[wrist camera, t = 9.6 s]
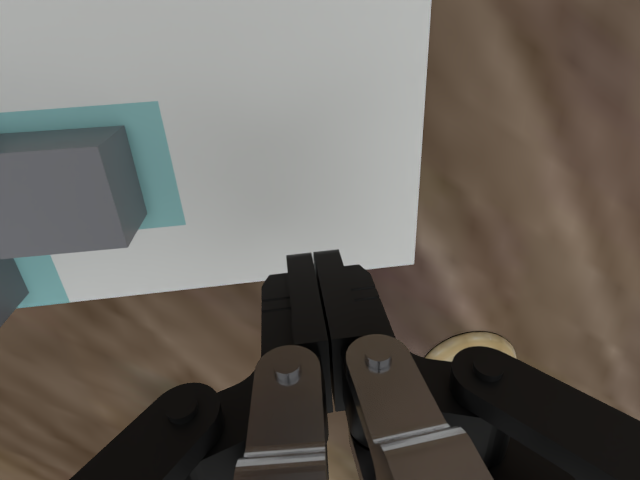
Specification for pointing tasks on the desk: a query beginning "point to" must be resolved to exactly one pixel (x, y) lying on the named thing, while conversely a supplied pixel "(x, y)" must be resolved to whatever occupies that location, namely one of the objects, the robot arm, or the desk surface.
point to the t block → (64, 198)
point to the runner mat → (241, 126)
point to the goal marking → (149, 164)
